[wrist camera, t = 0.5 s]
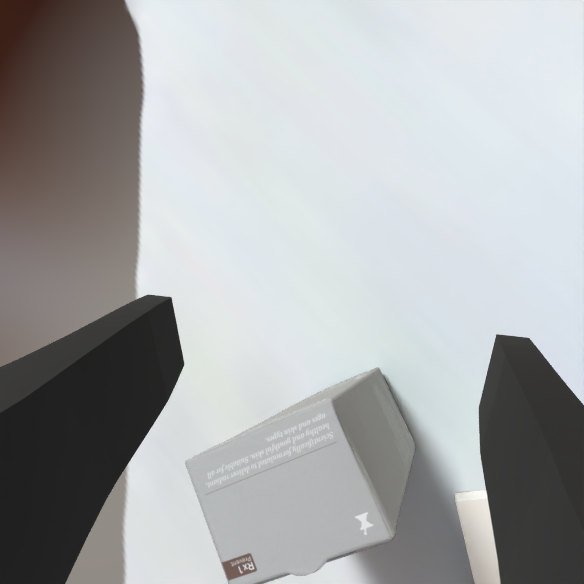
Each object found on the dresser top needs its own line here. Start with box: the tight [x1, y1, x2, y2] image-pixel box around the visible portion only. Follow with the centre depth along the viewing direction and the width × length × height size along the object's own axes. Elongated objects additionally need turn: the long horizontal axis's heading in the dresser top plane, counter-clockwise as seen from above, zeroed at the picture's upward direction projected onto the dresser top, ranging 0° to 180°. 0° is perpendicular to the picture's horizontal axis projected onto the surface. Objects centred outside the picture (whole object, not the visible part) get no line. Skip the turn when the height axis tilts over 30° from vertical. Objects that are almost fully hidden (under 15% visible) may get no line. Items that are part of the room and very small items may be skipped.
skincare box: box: [185, 368, 416, 584], centre depth 28 cm, size 8×7×16 cm
